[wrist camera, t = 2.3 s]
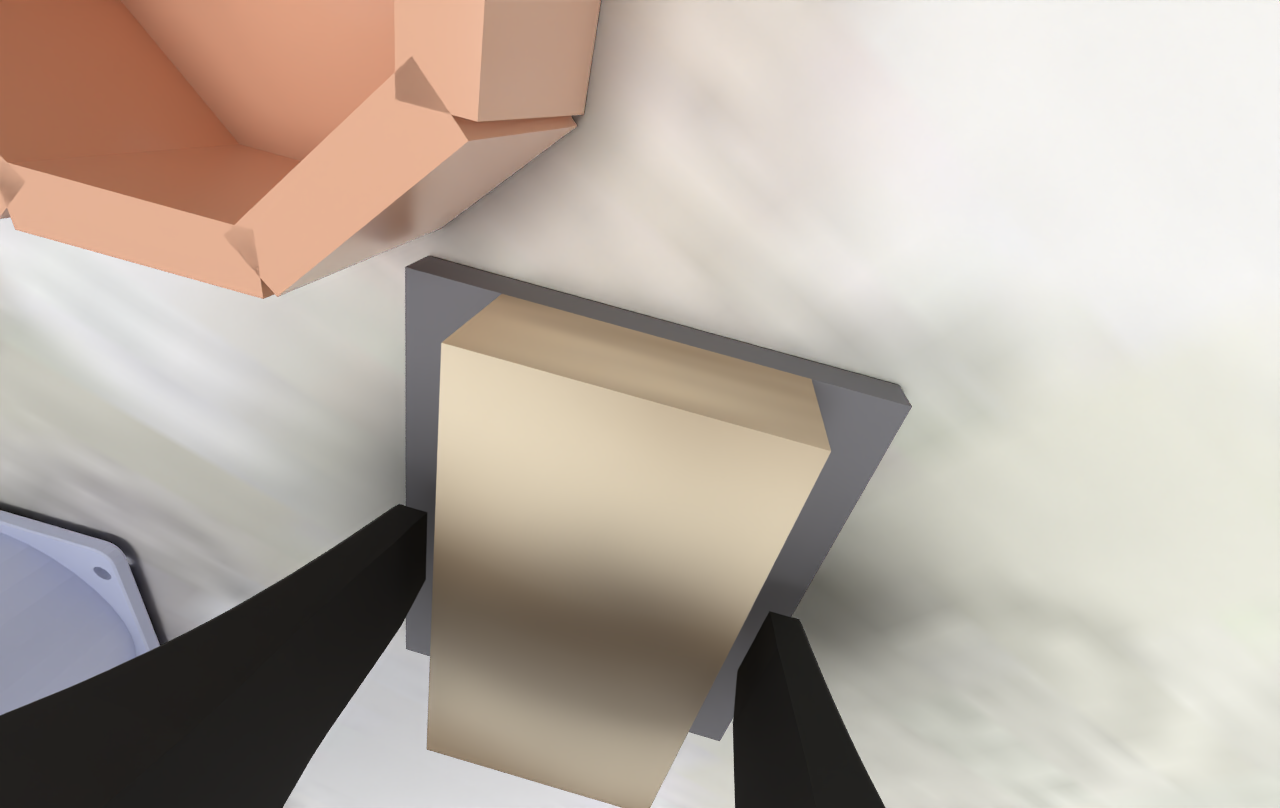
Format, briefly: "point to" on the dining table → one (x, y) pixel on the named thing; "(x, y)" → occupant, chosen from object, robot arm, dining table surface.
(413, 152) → the bowl
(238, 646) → the robot arm
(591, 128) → the dining table surface
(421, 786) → the dining table surface
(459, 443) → the lid
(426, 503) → the mat
